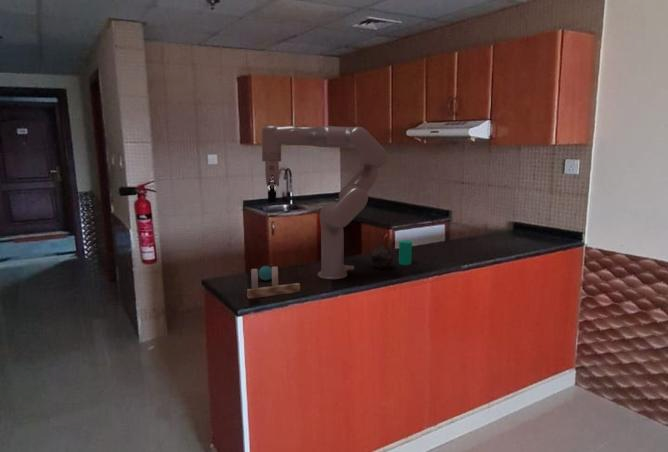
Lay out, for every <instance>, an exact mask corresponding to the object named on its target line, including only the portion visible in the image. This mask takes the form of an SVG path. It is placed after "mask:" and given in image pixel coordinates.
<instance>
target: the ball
mask: <svg viewBox="0 0 668 452" xmlns="http://www.w3.org/2000/svg"><path fill="white" fill-rule="evenodd" d="M258 278H260V279H261V280H262V281H269V280H272V267H270V266H268V265H263V266H261V267H260V268H259V269H258Z"/></svg>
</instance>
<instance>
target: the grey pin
mask: <svg viewBox="0 0 668 452" xmlns="http://www.w3.org/2000/svg"><path fill="white" fill-rule="evenodd" d="M258 273H259V269H258V268H251V270H250V275H251V276H250V277H251V289H254V288H259V282H258V281H259V274H258Z"/></svg>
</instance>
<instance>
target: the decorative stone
mask: <svg viewBox="0 0 668 452" xmlns="http://www.w3.org/2000/svg"><path fill="white" fill-rule="evenodd" d="M393 261H394V254H393V251H392V250H391V249H390V248H389V247H387V246H384V245H383V246H377V247H376V248H375V249H373V251H372V253H371V262H372V263H373V265H374V266H375V267H376V268H379V269H386V268H389V267H390V266H391V265H392V263H393Z"/></svg>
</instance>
